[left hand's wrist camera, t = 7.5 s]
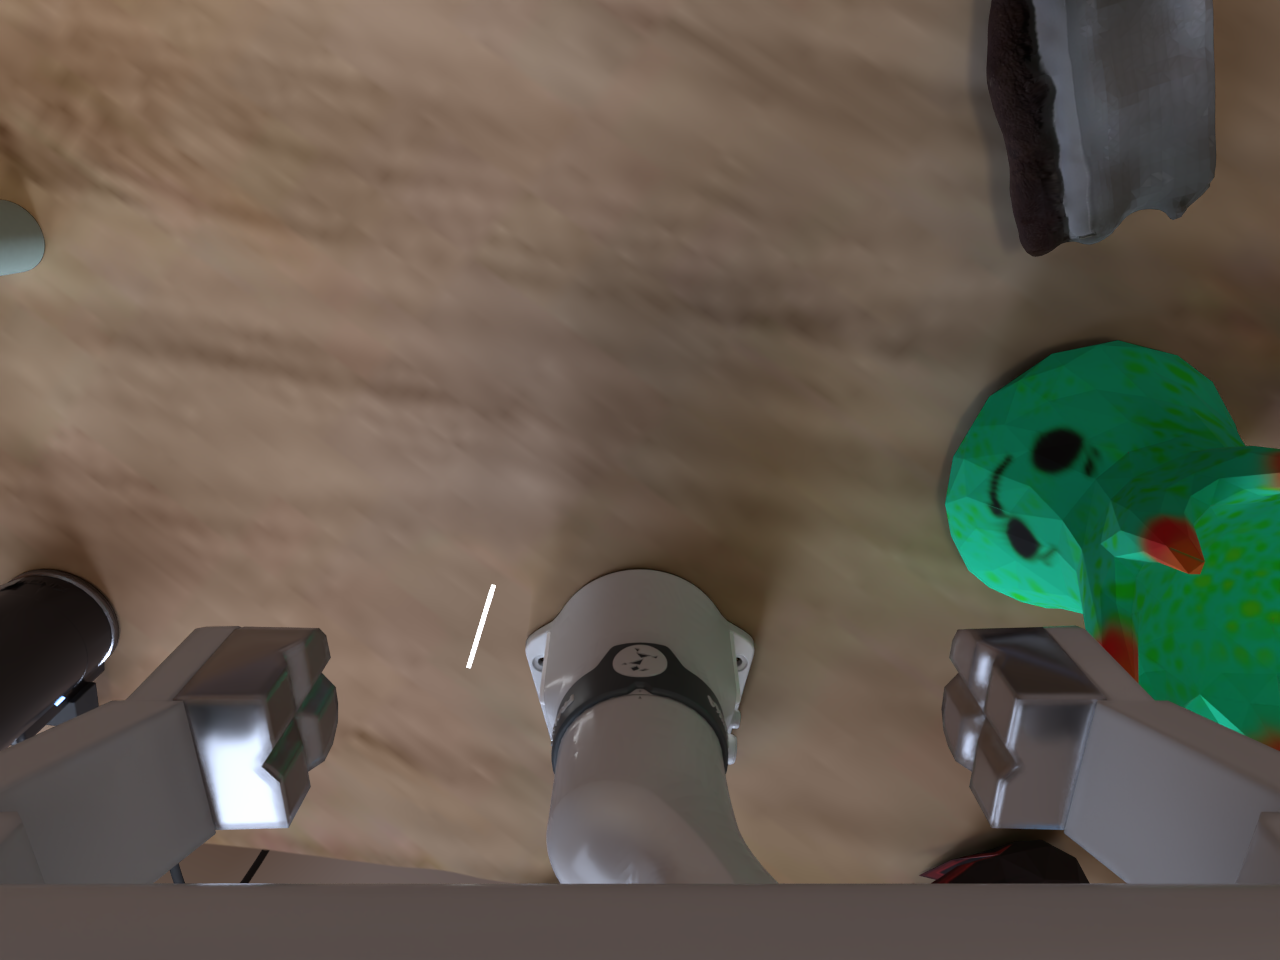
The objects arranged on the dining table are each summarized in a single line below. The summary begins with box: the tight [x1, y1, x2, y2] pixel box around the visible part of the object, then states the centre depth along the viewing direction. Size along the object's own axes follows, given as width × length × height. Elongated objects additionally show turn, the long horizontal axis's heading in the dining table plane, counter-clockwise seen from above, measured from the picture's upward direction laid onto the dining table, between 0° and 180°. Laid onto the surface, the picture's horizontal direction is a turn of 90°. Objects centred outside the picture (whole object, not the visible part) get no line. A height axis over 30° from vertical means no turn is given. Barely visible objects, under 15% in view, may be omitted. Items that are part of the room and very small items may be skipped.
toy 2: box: [945, 340, 1280, 751], centre depth 49 cm, size 20×20×25 cm
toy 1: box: [919, 840, 1090, 884], centre depth 71 cm, size 12×9×15 cm
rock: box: [987, 0, 1216, 257], centre depth 47 cm, size 18×11×8 cm, turn 18°
